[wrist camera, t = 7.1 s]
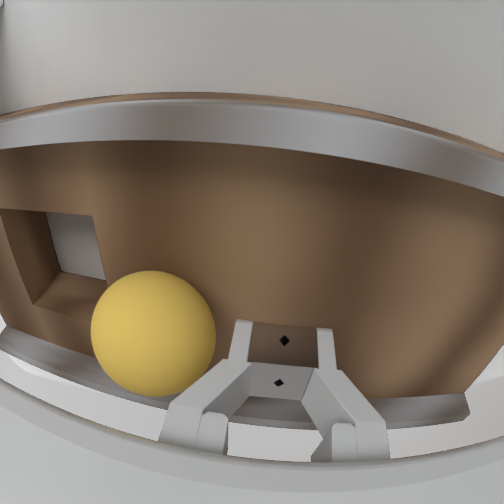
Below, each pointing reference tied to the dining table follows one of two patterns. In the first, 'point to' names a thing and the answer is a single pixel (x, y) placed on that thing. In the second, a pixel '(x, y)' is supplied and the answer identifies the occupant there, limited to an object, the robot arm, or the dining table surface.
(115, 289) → the ball
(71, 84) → the dining table surface
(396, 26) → the dining table surface
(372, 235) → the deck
